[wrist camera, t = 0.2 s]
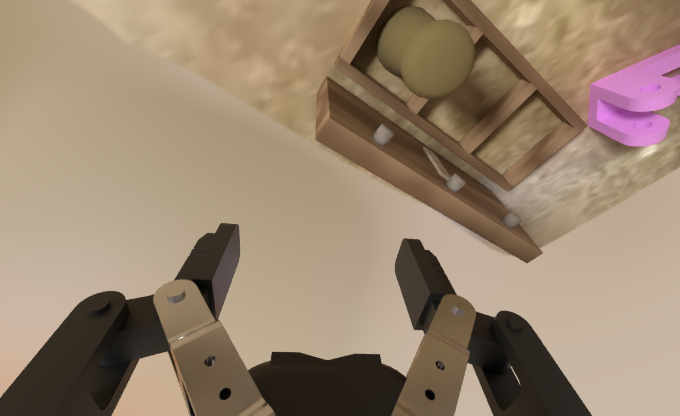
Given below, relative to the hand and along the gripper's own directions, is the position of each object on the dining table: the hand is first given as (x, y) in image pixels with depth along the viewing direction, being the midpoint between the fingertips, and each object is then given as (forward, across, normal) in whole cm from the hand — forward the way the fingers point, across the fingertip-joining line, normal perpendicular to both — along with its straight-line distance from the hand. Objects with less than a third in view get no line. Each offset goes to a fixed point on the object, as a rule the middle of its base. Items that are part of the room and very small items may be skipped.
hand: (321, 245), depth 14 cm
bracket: (+22, -37, -10) cm, 44 cm away
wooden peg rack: (+22, -15, -4) cm, 27 cm away
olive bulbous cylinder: (+21, -8, -10) cm, 25 cm away
